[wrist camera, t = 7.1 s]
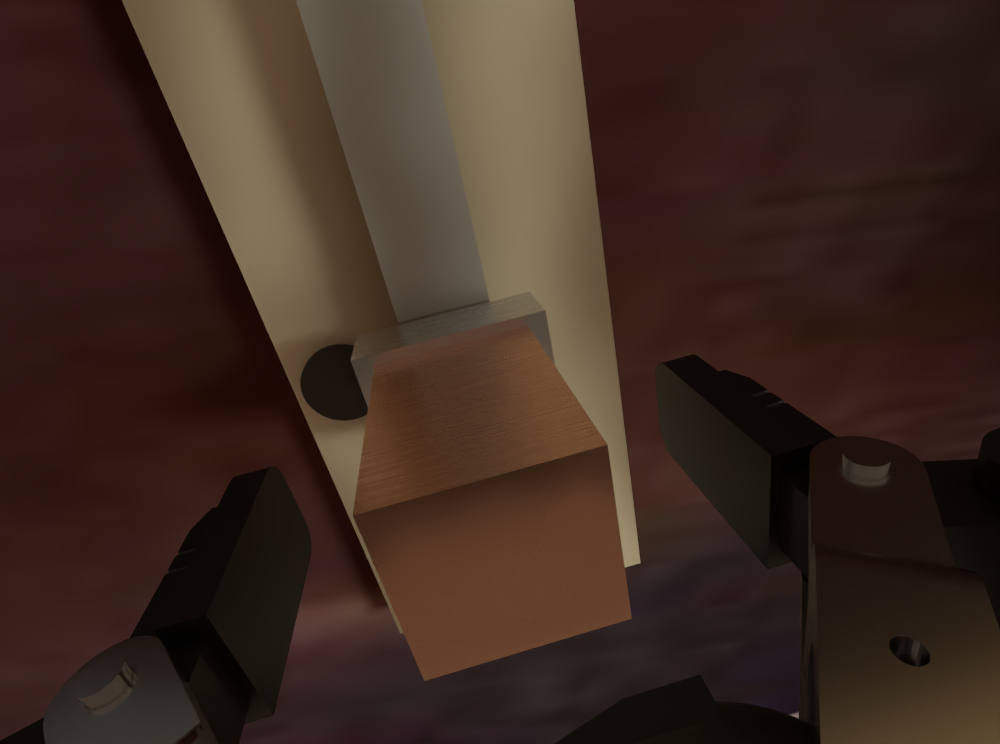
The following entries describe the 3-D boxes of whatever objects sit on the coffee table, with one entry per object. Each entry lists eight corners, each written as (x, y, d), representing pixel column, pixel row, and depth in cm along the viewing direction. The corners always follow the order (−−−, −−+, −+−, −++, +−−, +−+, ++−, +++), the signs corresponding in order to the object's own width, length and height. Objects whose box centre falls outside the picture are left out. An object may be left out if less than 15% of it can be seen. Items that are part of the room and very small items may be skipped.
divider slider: (514, 273, 15) (638, 420, 7) (538, 393, 16) (658, 620, 8) (363, 311, 14) (311, 510, 6) (403, 429, 16) (401, 698, 8)
